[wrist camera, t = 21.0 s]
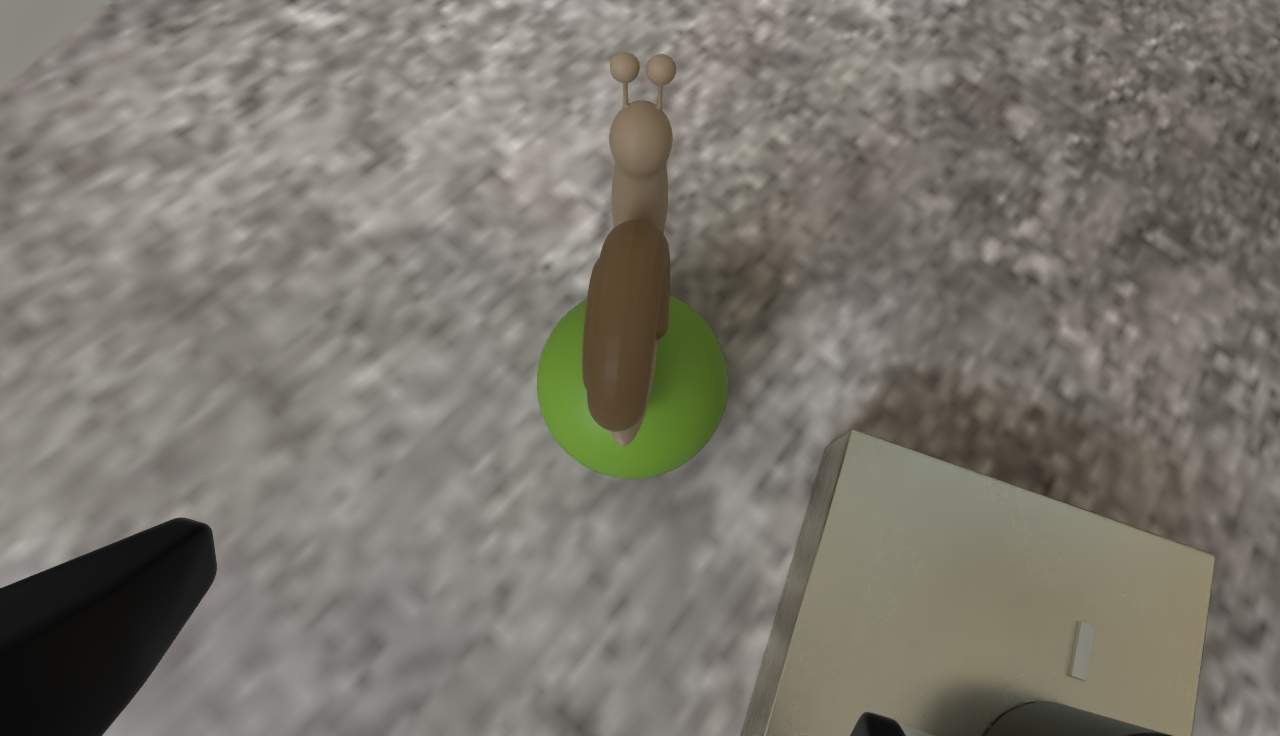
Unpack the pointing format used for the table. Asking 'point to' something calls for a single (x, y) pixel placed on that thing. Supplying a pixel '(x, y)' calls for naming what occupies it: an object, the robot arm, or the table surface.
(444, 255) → the table surface
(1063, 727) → the knob
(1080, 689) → the silver flat block
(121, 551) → the robot arm
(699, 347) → the snail figurine
